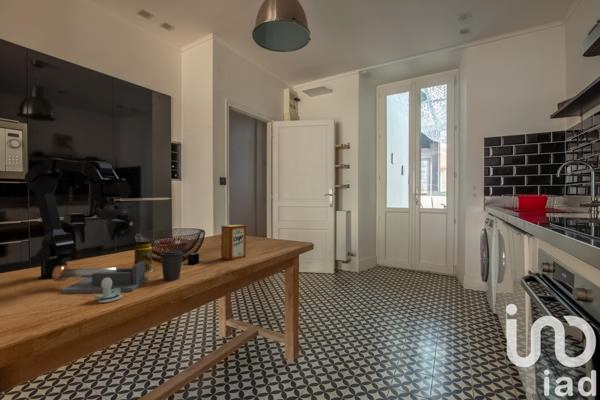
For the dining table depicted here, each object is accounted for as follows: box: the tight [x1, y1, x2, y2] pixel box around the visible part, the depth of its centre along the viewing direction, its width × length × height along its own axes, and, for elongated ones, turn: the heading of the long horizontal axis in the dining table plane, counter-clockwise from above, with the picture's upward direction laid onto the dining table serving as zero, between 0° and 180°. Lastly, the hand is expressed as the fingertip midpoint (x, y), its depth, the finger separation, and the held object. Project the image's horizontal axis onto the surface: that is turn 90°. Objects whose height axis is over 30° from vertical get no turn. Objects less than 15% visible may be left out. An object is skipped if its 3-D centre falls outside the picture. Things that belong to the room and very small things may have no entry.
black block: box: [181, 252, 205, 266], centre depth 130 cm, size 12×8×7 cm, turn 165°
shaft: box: [51, 265, 119, 282], centre depth 95 cm, size 18×5×5 cm, turn 98°
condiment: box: [134, 239, 154, 274], centre depth 115 cm, size 7×8×12 cm
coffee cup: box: [159, 249, 185, 282], centre depth 105 cm, size 8×8×10 cm
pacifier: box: [91, 278, 124, 304], centre depth 84 cm, size 7×6×6 cm
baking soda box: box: [220, 224, 247, 261], centre depth 142 cm, size 10×6×16 cm
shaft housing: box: [61, 261, 149, 295], centre depth 96 cm, size 20×13×7 cm, turn 98°
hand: (98, 241), depth 103 cm, fingers open, 9 cm apart
